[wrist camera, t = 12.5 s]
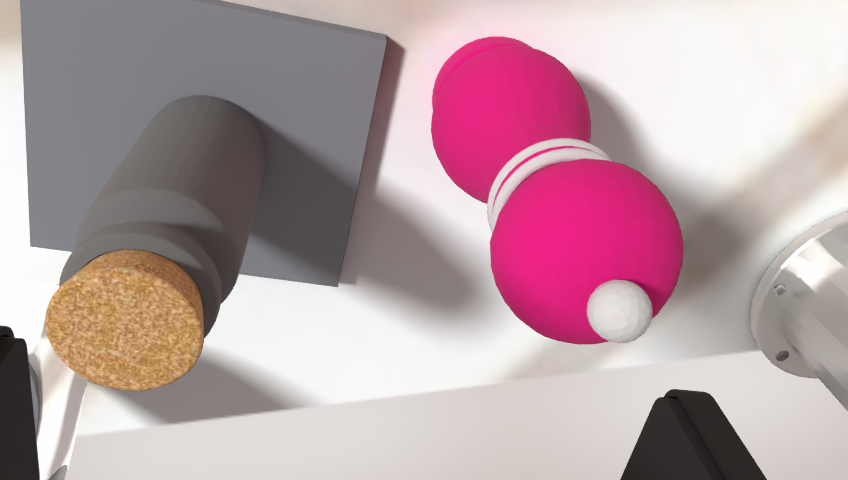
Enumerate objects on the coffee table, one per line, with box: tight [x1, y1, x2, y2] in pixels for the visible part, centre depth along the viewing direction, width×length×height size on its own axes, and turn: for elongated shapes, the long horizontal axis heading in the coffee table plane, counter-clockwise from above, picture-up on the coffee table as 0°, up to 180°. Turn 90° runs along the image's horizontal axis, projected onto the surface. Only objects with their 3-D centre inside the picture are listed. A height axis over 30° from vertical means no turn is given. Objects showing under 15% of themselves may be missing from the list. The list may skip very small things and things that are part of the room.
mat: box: [20, 0, 387, 287], centre depth 35 cm, size 16×14×1 cm
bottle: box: [45, 95, 267, 391], centre depth 28 cm, size 6×6×15 cm
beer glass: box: [0, 284, 89, 480], centre depth 34 cm, size 7×7×15 cm
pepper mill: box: [431, 37, 683, 344], centre depth 28 cm, size 7×7×20 cm
